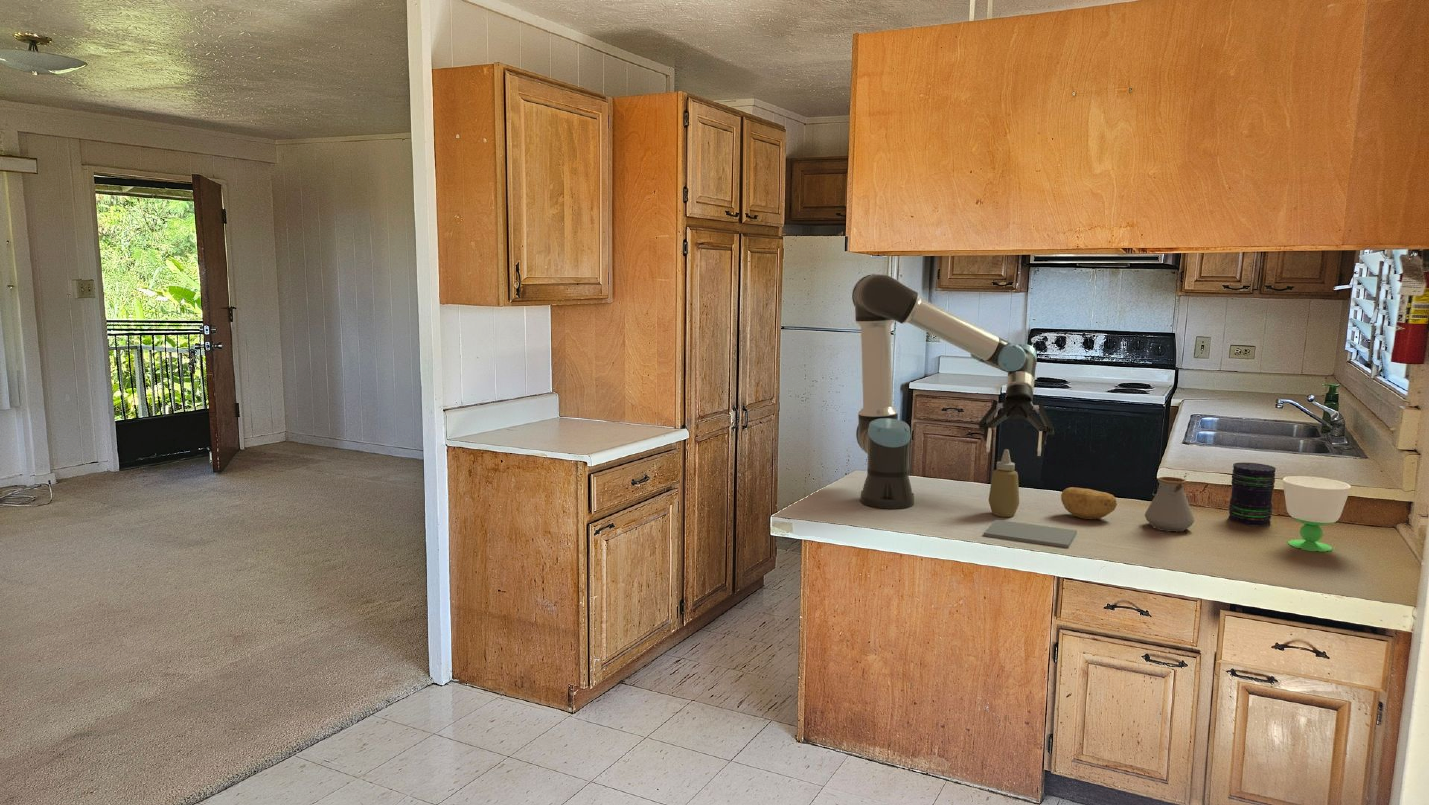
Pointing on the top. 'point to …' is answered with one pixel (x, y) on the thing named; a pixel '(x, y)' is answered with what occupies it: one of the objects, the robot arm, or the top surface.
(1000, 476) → the squeeze bottle
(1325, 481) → the cup
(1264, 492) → the storage jar
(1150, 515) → the coffee pot
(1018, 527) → the rubber mat
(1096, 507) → the potato
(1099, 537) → the top surface
